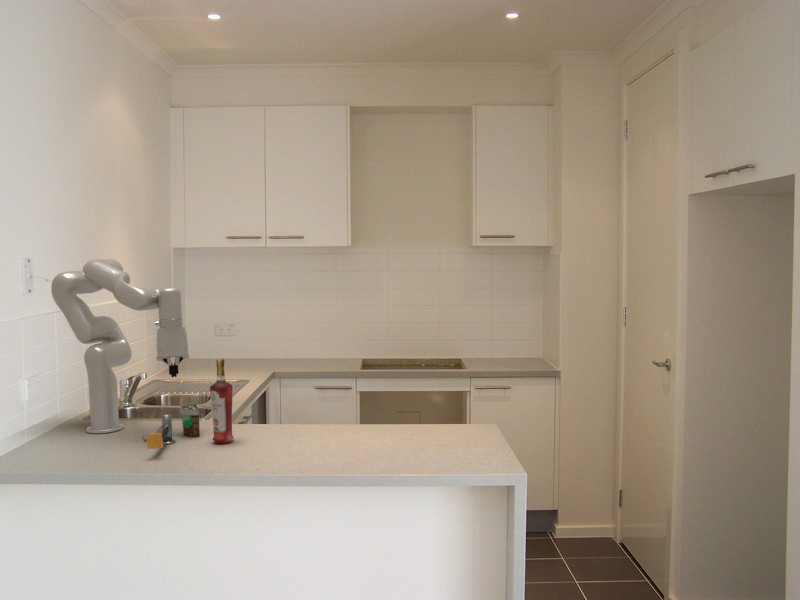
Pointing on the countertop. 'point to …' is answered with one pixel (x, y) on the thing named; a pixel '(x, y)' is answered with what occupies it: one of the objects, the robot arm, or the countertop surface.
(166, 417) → the pivot post
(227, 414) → the liquor
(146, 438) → the label tile
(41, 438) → the countertop surface
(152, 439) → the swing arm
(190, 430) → the food container
